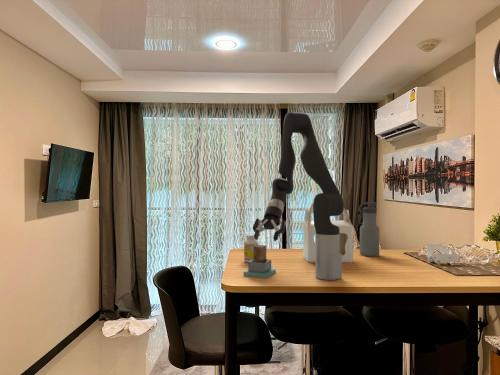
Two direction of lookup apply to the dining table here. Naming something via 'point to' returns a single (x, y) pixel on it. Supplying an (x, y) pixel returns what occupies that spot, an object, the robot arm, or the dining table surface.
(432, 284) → the dining table surface
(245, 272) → the plate
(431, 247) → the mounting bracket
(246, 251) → the supplement bottle
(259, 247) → the rail post
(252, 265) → the square socket frame
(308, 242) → the gable box
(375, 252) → the water bottle
